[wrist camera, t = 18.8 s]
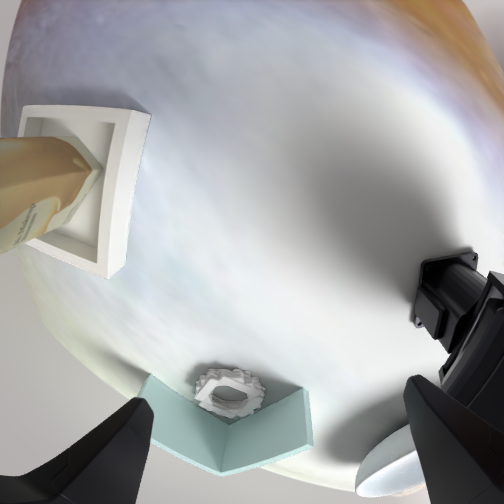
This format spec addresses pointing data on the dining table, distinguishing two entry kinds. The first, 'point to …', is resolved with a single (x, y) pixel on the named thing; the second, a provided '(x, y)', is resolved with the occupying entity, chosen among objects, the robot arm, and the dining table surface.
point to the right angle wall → (221, 434)
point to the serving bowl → (390, 466)
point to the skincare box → (41, 185)
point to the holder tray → (104, 189)
